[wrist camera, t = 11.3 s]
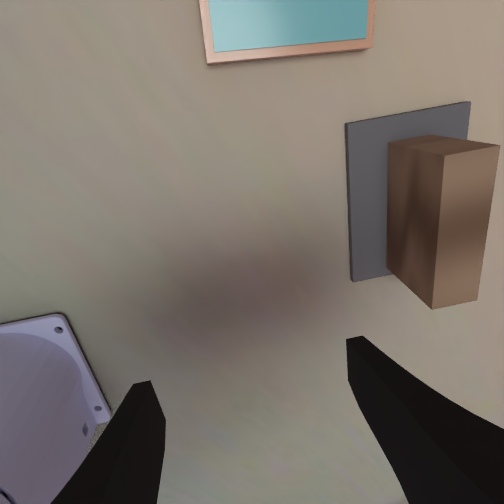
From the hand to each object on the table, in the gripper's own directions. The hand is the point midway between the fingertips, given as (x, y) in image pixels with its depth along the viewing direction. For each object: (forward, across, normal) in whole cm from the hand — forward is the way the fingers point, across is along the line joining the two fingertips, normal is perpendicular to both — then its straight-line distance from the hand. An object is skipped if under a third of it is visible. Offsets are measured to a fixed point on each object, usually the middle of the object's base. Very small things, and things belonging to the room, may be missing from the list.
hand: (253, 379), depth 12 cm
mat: (+10, -11, -2) cm, 15 cm away
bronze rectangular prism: (+10, -11, -2) cm, 15 cm away
